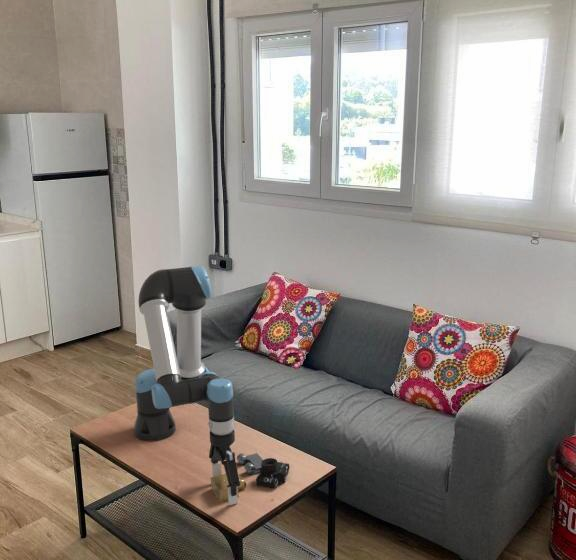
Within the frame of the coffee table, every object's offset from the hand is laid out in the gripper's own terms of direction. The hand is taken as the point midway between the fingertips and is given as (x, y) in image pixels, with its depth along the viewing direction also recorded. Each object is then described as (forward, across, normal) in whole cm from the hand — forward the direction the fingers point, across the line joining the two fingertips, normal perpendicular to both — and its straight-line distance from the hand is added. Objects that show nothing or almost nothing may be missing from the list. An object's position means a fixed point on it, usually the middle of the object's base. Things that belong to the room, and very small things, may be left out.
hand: (224, 492), depth 199 cm
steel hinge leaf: (0, -10, +14) cm, 17 cm away
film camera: (+1, -1, +17) cm, 17 cm away
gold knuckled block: (0, 0, +2) cm, 2 cm away
